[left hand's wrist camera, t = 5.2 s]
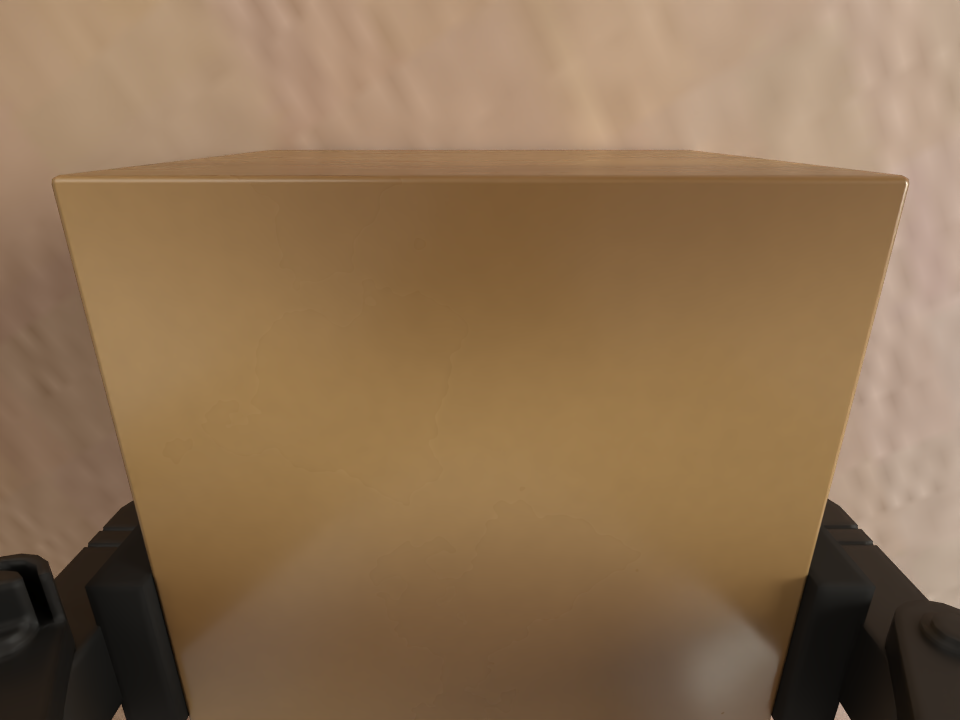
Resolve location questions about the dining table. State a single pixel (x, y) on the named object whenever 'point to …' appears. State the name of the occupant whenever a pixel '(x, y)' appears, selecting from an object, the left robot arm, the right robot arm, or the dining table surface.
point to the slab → (480, 419)
